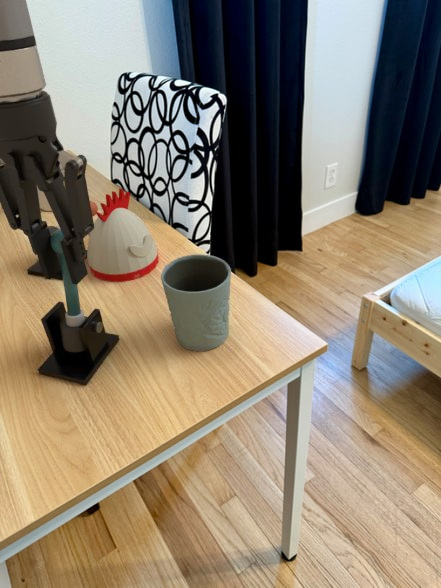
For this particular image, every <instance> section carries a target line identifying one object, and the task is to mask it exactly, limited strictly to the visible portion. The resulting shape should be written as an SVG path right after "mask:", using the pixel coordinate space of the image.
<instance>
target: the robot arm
mask: <svg viewBox="0 0 441 588" xmlns="http://www.w3.org/2000/svg"><path fill="white" fill-rule="evenodd" d="M47 84H48V83H47V79H46V76H45V72H44V67H43V64H42V60H41V56H40V53H39V47H38V44H37V40H36V37H35V31H34V28H33V23H32V20H31V16H30V12H29V7H28V3H27V0H0V206H1V209H2V210H3V213H4V215H5V218H6V221H7V223H8V225H9V227H10V229H12V230H13V231H17V230H20V231H22V232H23V234H24V235H25V236H27V239H28V241H29V244H30V248H31V250H32V252H33V254H34V256H37V260H39V262H40V265H41V268H42V271H43V274H44V277H43V278H44V279H45V280H49V281H51V280H52V279H53V277H54V276H55V275H56V274H57V273H58V272H59V271H60V270H61V266H60V263H59V260H58V257H57V253H56V252H55V251H54V250H53V249H52V247H51V243H50V240H51V234H50V231H49V228H43V229H42V230H41V227H42V226H44V225H45V224H46V222H47V221H46V222H44V221H45V220H43V219H42V212H41V208H40V204H39V197H38V190H37V186H38V189H39V190H40V191H42V192H44V194H45V196H46V199H47V201H48V203H49V205H50V207H51V210H52V211H51V212H52V214H53V216H54V218H55V220H56V223H57V226H59V227H60V229H61V231H62V234H63V236H64V239H63V240H62V241H61V242H60V243H61V247H62V250H63V253H64V257H65V260H66V264H67V267H68V270H69V274H70V277H71V280H72V284H76V285H77V286H78V285H79V284H80V283H81V282H82V281H83V279H84V278H85V277H86V276H87V275H88V274H89V272H88V268H87V264H86V260H85V259H86V258H87V257H86V255H87V252H86V250H87V249H86V245H85V241H84V239H85V238H86V237H87V236H88V234H89V233H90V232H91V231H92V230H94V222H95V221H94V216H92V211H91V205H90V201H91V200H90V196H89V189H88V184H87V183H88V182H87V179H86V171H87V165H88V164H87V163H88V159H87V158H86V156H85V155H83V154H78V155H73V154H72V153H69V152H68V151H66V150H65V149H64V146H63V145H62V143H61V141H60V140H59V138H58V136H57V126H58V121H57V117H56V114H55V109H54V105H53V102H52V97H51V95H50V94H49V93H48V92H47V91H45V90H44V89H45V88H46V87H47ZM60 164H61V167H62V169H60V166H59V165H60ZM63 175H64V176H63ZM64 182H65V186H64ZM42 223H43V224H42ZM85 257H86V258H85ZM84 258H85V259H84Z"/></svg>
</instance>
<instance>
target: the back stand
mask: <svg viewBox="0 0 441 588" xmlns="http://www.w3.org/2000/svg"><path fill="white" fill-rule="evenodd" d="M43 221H44V222H46V224H45V225H44V226H42V227H41V230H42V229H43V228H47V227H48V226H49V225H48V222H47V220H43ZM42 224H43V223H42ZM86 252H87V249H86ZM57 257H58V260H59V263H60V266H61V262H60V255H59V254H58V253H57ZM86 258H87V255H86V257H85V258H84V260H85V259H86ZM26 273H27V275H32V276H37V277H42V278H45V277H44V274H43V271H42V268H41V265H40V262H39V259H37V261H36V262H34V263H33V264H32V265H31V266H30V267H29V268H27V269H26ZM52 279H53V280H60V281H63V276H62V269H61V270H60V271H59V272H58V273H57V274H56V275H55V276H54V277H53V278H52Z"/></svg>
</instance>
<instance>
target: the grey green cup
mask: <svg viewBox="0 0 441 588" xmlns="http://www.w3.org/2000/svg"><path fill="white" fill-rule="evenodd" d="M160 279H161V284H162V288H163V291H164V293H165V299H166V300H167V302H166V303H167V305H168V309H169V310H168V311H169V312H170V314H169V315H170V317H171V323H172V325H173V328H174V334H175V337H176V340H177V342H178V344H179V345H180V346H182V347H184V348H185V349H187V350H190V351H195V352H205V351H208V352H209V351H211V350H215V349H217V348H218V347H219V346H221V345H223V343H224V342H225V341H227V339H228V336H229V328H230V327H229V326H230V325H229V323H230V319H229V316H230V303H229V301H230V295H231V282H232V281H231V279H232V268H231V267H230V265H229V264H228V262H226V260H224V259H222V258H220V257H217V256H215V255H211V254H198V253H197V254H196V253H195V254H188V255H184V256H181V257H178V258H175V259H174V260H172V261H170V262H168V263H167V264H166V265H165V266H164V268H163V269H162V271H161V275H160Z"/></svg>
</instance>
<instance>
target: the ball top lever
mask: <svg viewBox="0 0 441 588" xmlns="http://www.w3.org/2000/svg"><path fill="white" fill-rule="evenodd" d="M63 239H64V236H63V234H62V231H61V229H59V230H57V231H55V232H54V233H53V234H52V236H51V240H50V243H51V247H52V249H53V250H54V251H55V252H56V253H58V254H59V255H60V262H61V269H62V276H63V280H62V283H63V289H64V290H63V291H64V296H65V302H66V303H65V304H66V313H65V318H66V319H64V320H63V321H62V322H61V323H60V328H61V335H62V341H63V347H64V349H65V350H66V351H69V352H82V351H85V347H84V344H83V340H82V337H81V334H80V331H79V326H80V325H81V324H82V323H83V322H84V321H85V319H86V318H87V317H88V316H85V312H84V310H82V309H81V302H80V296H79V285H78V284H77V285H76V284H72V280H71V277H70V274H69V270H68V267H67V264H66V260H65V257H64V253H63V250H62V247H61V243H60V242H61V241H62V240H63Z"/></svg>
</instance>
